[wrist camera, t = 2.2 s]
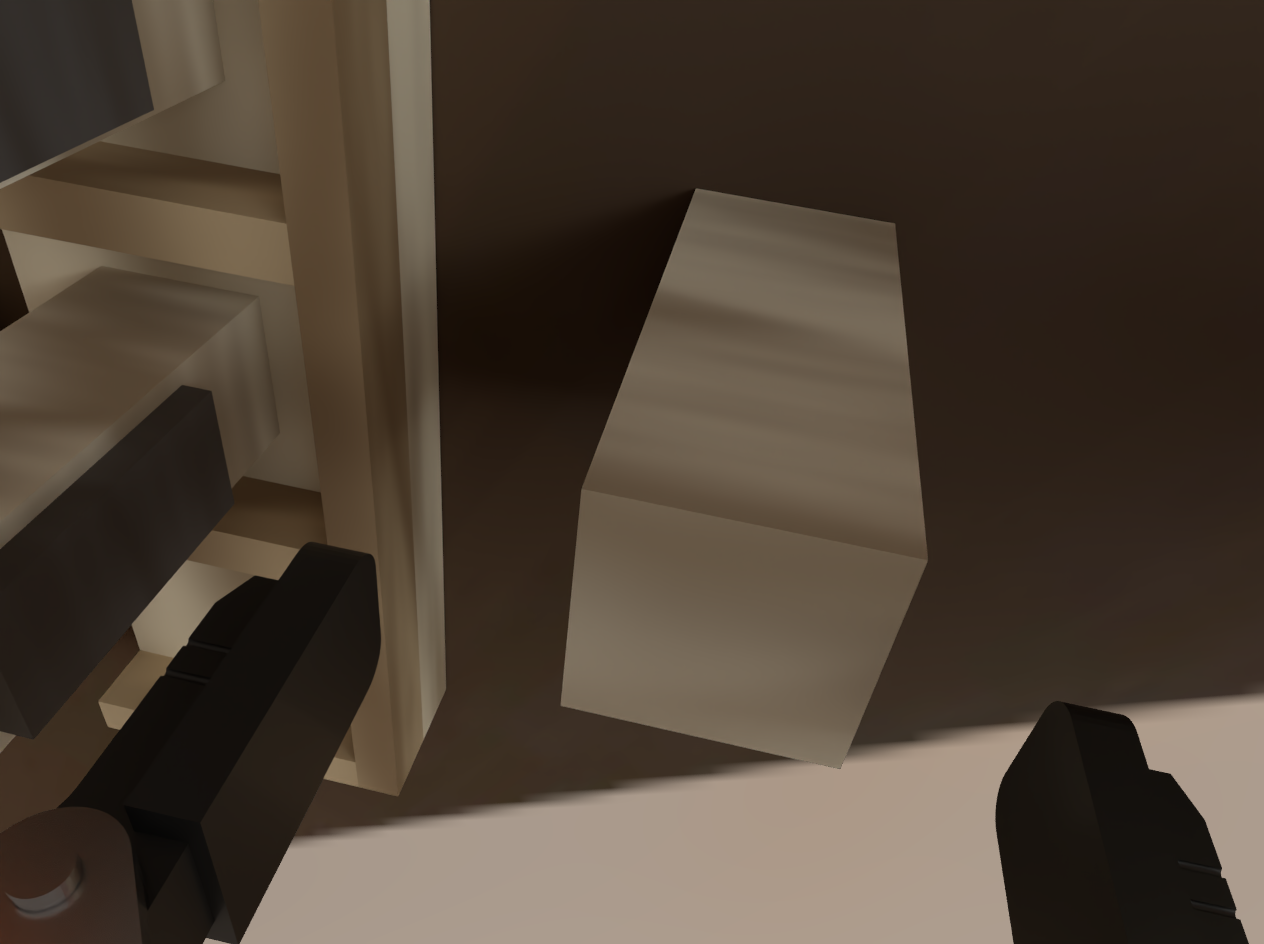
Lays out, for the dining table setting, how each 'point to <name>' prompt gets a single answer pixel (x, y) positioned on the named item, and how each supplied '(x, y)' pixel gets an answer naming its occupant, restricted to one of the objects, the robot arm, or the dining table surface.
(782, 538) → the beige cuboid
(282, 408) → the wooden block rack
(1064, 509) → the dining table surface
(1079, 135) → the dining table surface
